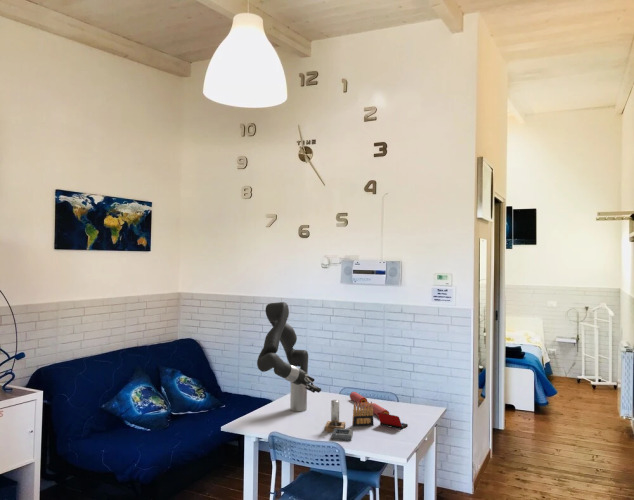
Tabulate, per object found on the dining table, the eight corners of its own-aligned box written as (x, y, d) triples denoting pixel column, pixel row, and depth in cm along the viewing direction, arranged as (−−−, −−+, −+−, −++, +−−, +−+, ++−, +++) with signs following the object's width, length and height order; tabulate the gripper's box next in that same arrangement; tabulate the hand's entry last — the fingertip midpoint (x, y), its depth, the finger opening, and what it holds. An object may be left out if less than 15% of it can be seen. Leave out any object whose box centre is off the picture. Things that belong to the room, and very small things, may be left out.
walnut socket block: (327, 425, 273) (327, 420, 273) (345, 427, 271) (345, 422, 271) (324, 431, 264) (324, 426, 264) (343, 432, 262) (343, 427, 262)
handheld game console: (408, 426, 274) (408, 411, 274) (398, 431, 266) (398, 416, 266) (387, 421, 282) (387, 407, 282) (376, 426, 273) (376, 412, 273)
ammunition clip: (353, 426, 272) (353, 402, 272) (352, 425, 274) (352, 401, 274) (373, 425, 274) (373, 401, 275) (372, 424, 276) (372, 400, 276)
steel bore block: (334, 433, 261) (334, 428, 261) (352, 434, 260) (353, 429, 260) (331, 439, 252) (331, 434, 252) (350, 440, 251) (351, 435, 251)
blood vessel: (389, 419, 287) (389, 409, 287) (381, 420, 285) (381, 410, 285) (357, 399, 326) (357, 391, 327) (349, 400, 325) (349, 392, 325)
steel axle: (331, 427, 270) (331, 399, 270) (339, 428, 269) (339, 400, 269) (330, 430, 266) (330, 401, 266) (338, 430, 265) (338, 402, 265)
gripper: (303, 376, 254) (327, 388, 262) (292, 360, 266) (315, 371, 274) (293, 389, 254) (317, 400, 263) (283, 372, 266) (306, 383, 275)
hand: (316, 385), depth 269 cm, fingers open, 8 cm apart
